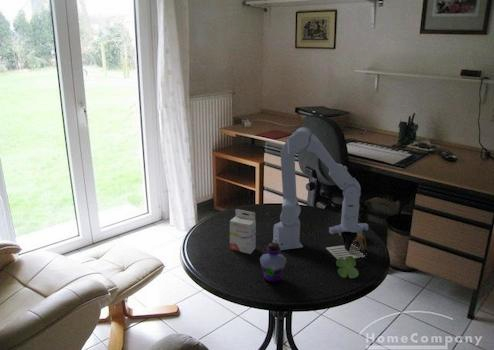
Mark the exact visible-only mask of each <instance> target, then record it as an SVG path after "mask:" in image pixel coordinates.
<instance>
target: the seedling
mask: <svg viewBox="0 0 494 350" xmlns="http://www.w3.org/2000/svg"><path fill="white" fill-rule="evenodd" d="M335 264H336V266H337V267H338V269H337V274H338V275H339V276H340V277H341V278H347V277H349V278H350V279H355V278H357V277H358V276H359V274H360V273H359V270H358V269H357V268H356V265H357V262H356V258H353V257H351V256H347V257H346V260H345V259H343V258H338V259H336V262H335Z"/></svg>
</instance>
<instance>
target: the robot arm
mask: <svg viewBox="0 0 494 350" xmlns="http://www.w3.org/2000/svg"><path fill="white" fill-rule="evenodd" d="M325 147H326V146H324V144H323V143H322V142H321V140H320V139H319V138H318V137H317V136H316V134H314V133H313V132H312V130H311V129H310V128H308V127H306V126H300V127H299V128H297V129H296V130H294V132H292V133H291V135H290V136H289V137H288V138H287V139H286V141H285V143H284V144H283V146H282V148H281V149H280V166H281V168H280V169H281V185H282V204H281V213H280V215H279V220H280V221H279V222H277V223H275V224H274V225H273V231H272V232H273V233H272V234H273V235H272V236H273V239H272V243H278V244H279V247H280V248H281V251H283V250H284V251H286V250H292V249H301V248H304V245H303V244H302V243H301V242H300V232H301V221H300V219H299V216H300V214H301V211H302V208H301V206H300V204H299V199H298V196H297V181H296V179H297V176H296V161H295V160H296V158H295V155H296V154H298V152H299V151H302V150H304V149H305V148H306V149H305V151H306V152H308V153H314V154H315V155H316V156H317V158H318V159H319V160H320V161H321V162H322V163H323V164H324V165H325V166H326V167H327V169H328V176H329V177H330V178H331V179H332V180H333V182H334V183H335V184H336V185H337V187H338V188H339V189H340V190H342V196H343V200H342V206H341V220H340V224H338V225H334V226H329V227H328V232H329V234H331V235H334V234H339V233H341V235H342V237H341V239H342V238H343V239H342V240H343V245H345V249H346V250H347V251H349V250H350V247H351V244H353V243H354V242H353V241H354V239H355V238H356V237H357V233H356V232H357V230H363V231H364V230H365V231H369V224H368V223H366V222H365V223H364V222H362V223H361V222H360V223H359V212H360V211H359V210H360V198H361V195H362V193H361V188H362V187H361V185H360V183H359V181H358V180H357V179H356V177H353V176H352V175H351V174H350V172H349V171H348V167H347V166H346V165H343V164H341V163H337V162H336V161H335V160H334V158H333V157H332V155H331V154H330V152H328V150H327V149H326V148H325Z"/></svg>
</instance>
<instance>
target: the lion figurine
mask: <svg viewBox="0 0 494 350" xmlns="http://www.w3.org/2000/svg"><path fill="white" fill-rule="evenodd" d="M338 235H339V236H340V237H341V239H342V240H343V238H342V235H341V233H338ZM366 241H367V240H366V236H365V235H364V234H362V235H361V234H357V237H356V238H355V239H354V241H353V242H352V243H357V242H358V244H359V246H358V247H359V248H357V249H361V250H363V251H364V250H366V251H369V249H368V248H367V242H366ZM343 245H344V244H343ZM344 246H345V245H344Z"/></svg>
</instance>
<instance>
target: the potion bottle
mask: <svg viewBox="0 0 494 350" xmlns="http://www.w3.org/2000/svg"><path fill="white" fill-rule="evenodd" d="M281 252H282V250H281V248H280V247H279V244H278V243H273V242H269V243H268V246H266V253H264V254H262V255H261V256H260V258H259V262H260V267H261V269H262V271H263V276H264V277H263V278H264V281H266V283H272V284H275V283H279V282H280V281H281V280H282V276H283V272H284V268H286V267H285V266H286V264H287V261H288V259H287V257H285V256H284V255H283V254H282V253H281Z"/></svg>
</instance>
